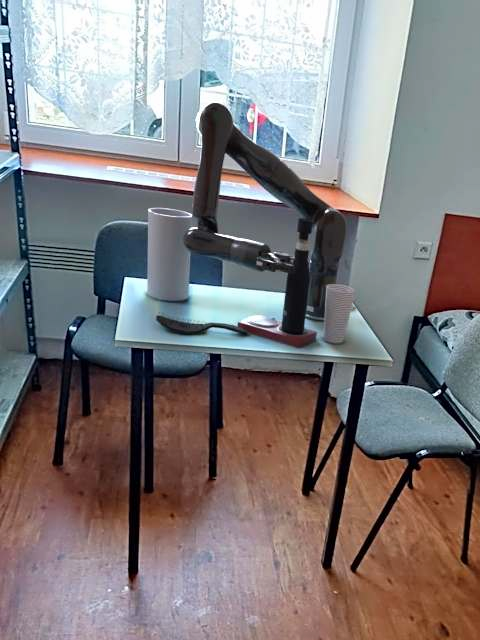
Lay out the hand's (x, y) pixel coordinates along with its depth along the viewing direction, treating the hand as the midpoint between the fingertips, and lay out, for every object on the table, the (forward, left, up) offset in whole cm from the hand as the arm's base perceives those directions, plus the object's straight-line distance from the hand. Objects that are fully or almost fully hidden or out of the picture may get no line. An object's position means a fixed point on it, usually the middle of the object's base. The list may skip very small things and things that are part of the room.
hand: (301, 268), depth 180 cm
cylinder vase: (-5, -47, -20) cm, 52 cm away
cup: (-9, +9, -20) cm, 24 cm away
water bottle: (0, 0, -18) cm, 18 cm away
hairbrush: (+15, -21, -20) cm, 33 cm away
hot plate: (0, -5, -20) cm, 21 cm away
